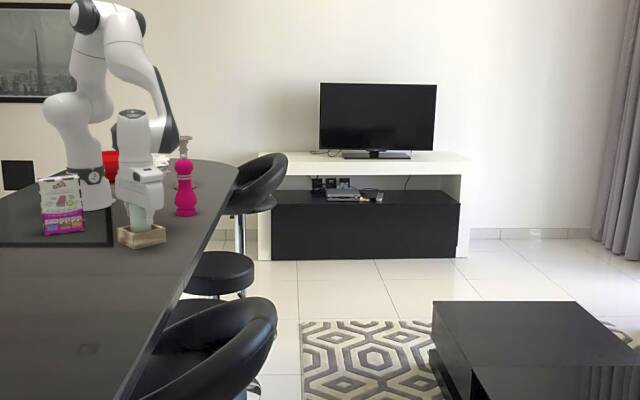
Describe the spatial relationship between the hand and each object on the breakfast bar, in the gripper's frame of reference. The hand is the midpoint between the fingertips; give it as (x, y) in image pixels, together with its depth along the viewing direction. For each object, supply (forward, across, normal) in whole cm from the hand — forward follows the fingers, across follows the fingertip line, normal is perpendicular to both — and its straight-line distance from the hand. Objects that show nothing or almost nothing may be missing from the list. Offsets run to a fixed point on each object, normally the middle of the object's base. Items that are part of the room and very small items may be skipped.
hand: (140, 219), depth 152 cm
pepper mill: (+7, -16, +25) cm, 30 cm away
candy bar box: (+7, -25, -11) cm, 28 cm away
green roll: (+5, 0, 0) cm, 5 cm away
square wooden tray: (+6, 0, 0) cm, 6 cm away
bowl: (+7, -88, +35) cm, 95 cm away
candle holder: (+7, -50, +47) cm, 69 cm away
